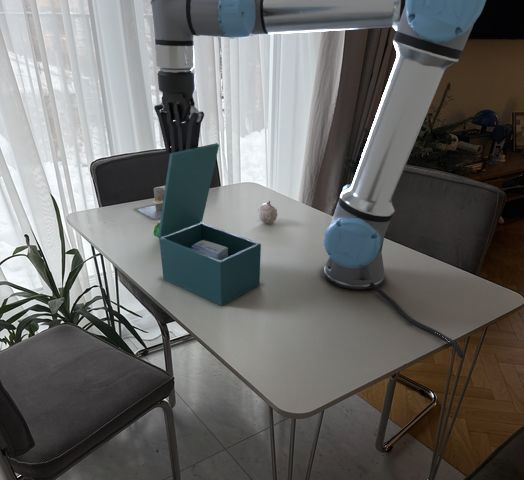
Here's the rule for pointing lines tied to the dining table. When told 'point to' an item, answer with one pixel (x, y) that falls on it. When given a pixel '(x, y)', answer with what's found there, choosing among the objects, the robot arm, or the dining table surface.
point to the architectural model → (157, 208)
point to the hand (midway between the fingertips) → (183, 188)
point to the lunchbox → (210, 263)
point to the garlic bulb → (267, 213)
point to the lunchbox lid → (187, 187)
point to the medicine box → (211, 249)
